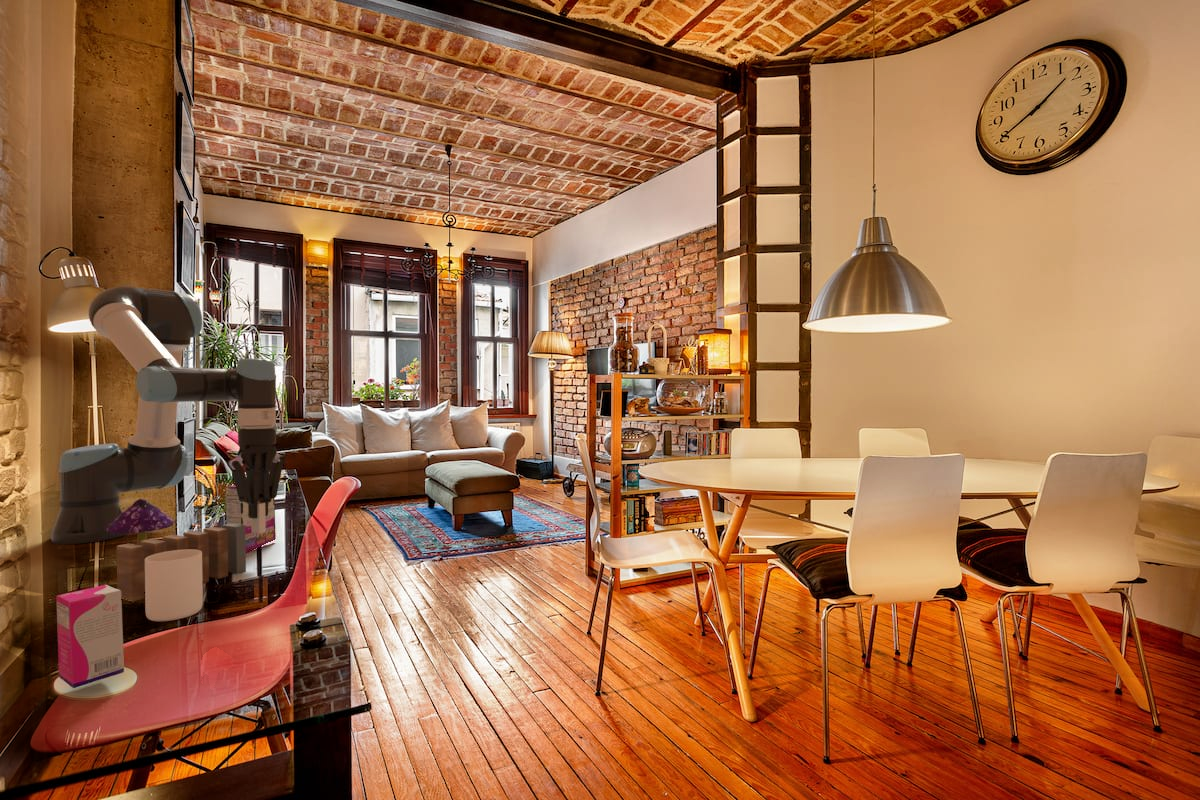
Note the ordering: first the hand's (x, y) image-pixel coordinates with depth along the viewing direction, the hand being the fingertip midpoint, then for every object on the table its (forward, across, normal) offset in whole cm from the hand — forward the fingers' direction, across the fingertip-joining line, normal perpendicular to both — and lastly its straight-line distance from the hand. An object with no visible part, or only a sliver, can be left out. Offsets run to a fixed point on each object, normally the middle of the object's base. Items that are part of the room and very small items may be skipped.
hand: (258, 531), depth 139 cm
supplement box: (+8, -46, -31) cm, 56 cm away
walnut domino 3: (+7, -18, 0) cm, 19 cm away
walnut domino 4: (+7, -14, 0) cm, 16 cm away
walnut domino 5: (+7, -10, 0) cm, 12 cm away
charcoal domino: (+7, -6, 0) cm, 9 cm away
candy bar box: (+8, +8, +15) cm, 19 cm away
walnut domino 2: (+7, -22, 0) cm, 23 cm away
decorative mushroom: (+8, -12, +24) cm, 28 cm away
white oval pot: (+8, -26, -14) cm, 31 cm away
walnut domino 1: (+7, -26, 0) cm, 27 cm away
